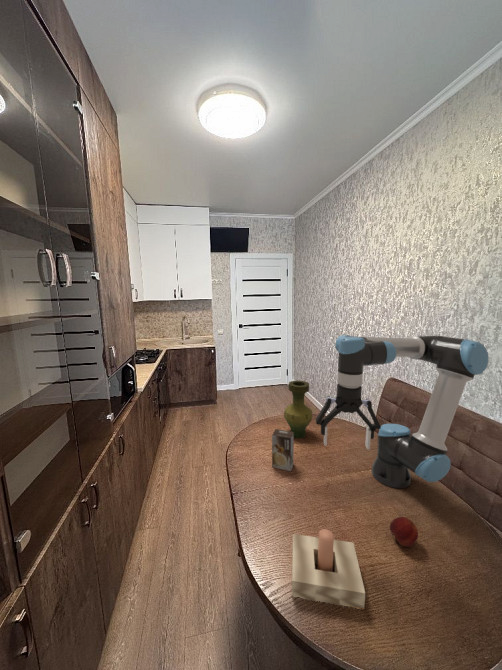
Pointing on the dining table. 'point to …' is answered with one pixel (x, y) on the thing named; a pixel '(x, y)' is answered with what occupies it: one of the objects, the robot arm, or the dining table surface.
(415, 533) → the apple
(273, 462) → the coffee box
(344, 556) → the socket block
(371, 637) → the dining table surface
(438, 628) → the dining table surface
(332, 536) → the peg
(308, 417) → the vase
